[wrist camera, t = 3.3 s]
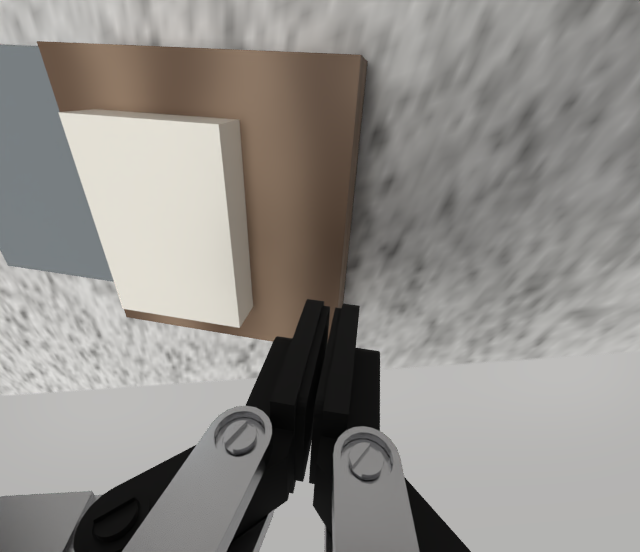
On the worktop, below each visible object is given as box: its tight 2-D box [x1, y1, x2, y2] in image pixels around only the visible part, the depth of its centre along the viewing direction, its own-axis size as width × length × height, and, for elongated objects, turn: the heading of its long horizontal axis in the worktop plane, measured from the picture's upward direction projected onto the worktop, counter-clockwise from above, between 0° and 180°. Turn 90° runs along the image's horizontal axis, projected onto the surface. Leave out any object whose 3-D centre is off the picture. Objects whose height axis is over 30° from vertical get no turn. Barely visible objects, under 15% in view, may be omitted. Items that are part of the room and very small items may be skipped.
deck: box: [37, 41, 368, 343], centre depth 19 cm, size 14×15×4 cm
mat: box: [0, 45, 114, 281], centre depth 22 cm, size 13×15×1 cm
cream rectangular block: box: [58, 109, 253, 328], centre depth 16 cm, size 7×10×2 cm
